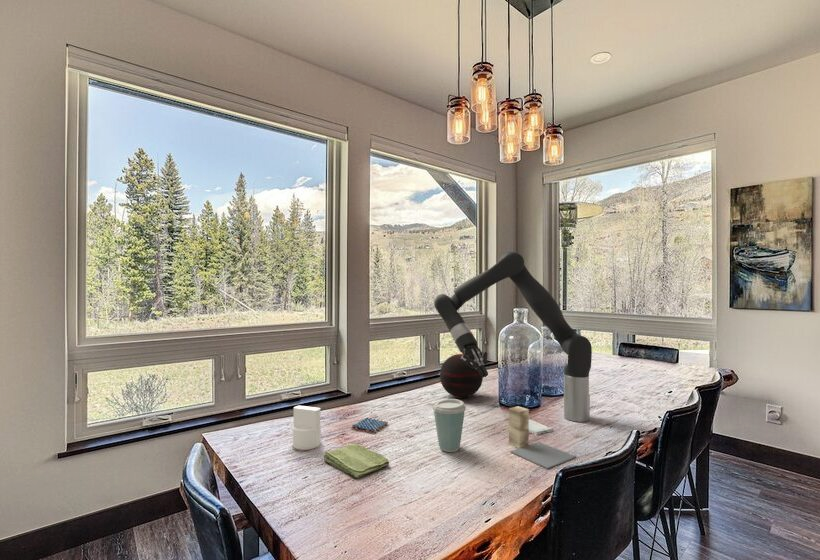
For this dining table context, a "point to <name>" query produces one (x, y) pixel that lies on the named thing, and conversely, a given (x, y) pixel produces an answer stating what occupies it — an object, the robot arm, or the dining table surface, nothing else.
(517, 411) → the maple block
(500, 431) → the dining table surface
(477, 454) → the dining table surface
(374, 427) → the woven mat
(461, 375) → the decorative orb
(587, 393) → the robot arm
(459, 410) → the disposable coffee cup
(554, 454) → the felt mat
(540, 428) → the hard drive
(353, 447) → the washcloth
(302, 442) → the white lidded canister
